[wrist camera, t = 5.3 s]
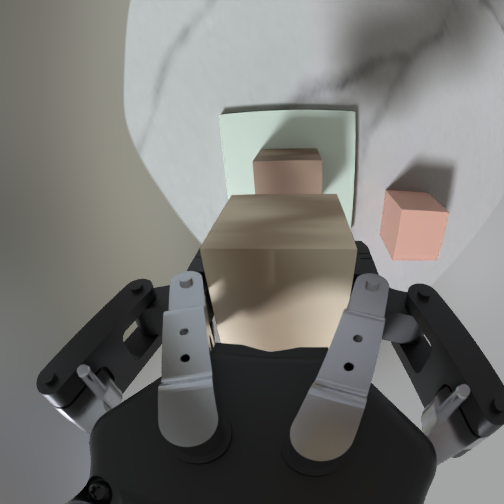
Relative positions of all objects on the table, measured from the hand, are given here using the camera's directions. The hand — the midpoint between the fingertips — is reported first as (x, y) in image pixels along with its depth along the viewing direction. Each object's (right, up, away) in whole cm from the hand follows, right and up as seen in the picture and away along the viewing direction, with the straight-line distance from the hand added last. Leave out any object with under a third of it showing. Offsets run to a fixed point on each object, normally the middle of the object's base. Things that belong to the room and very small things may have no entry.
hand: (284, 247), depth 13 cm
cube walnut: (+2, +7, +11) cm, 13 cm away
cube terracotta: (+14, +4, +12) cm, 19 cm away
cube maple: (0, 0, +1) cm, 1 cm away
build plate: (+2, +7, +12) cm, 14 cm away
